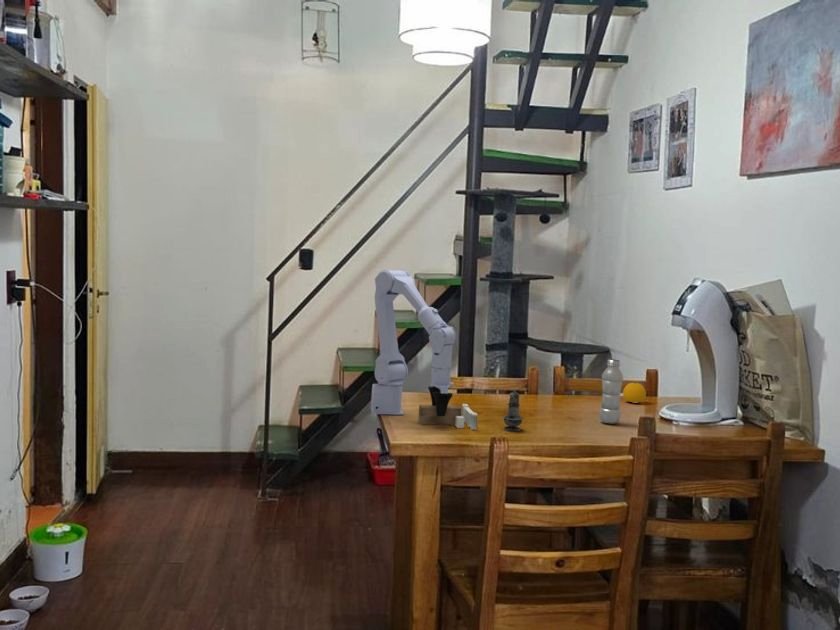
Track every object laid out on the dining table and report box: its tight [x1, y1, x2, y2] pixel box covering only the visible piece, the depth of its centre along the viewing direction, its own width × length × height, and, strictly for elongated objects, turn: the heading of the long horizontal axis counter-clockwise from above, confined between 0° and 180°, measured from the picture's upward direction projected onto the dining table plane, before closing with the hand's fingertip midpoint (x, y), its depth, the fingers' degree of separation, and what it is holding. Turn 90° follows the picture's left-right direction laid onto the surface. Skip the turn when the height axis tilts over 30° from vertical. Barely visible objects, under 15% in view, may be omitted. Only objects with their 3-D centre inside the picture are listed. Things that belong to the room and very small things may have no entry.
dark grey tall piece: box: [502, 388, 524, 433], centre depth 237 cm, size 6×6×12 cm
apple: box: [622, 382, 647, 403], centre depth 291 cm, size 8×8×8 cm
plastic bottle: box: [598, 358, 624, 425], centre depth 252 cm, size 6×7×20 cm
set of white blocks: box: [454, 403, 478, 431], centre depth 241 cm, size 6×15×4 cm, turn 8°
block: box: [417, 404, 462, 426], centre depth 240 cm, size 12×4×5 cm, turn 98°
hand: (438, 413), depth 240 cm, fingers open, 7 cm apart
